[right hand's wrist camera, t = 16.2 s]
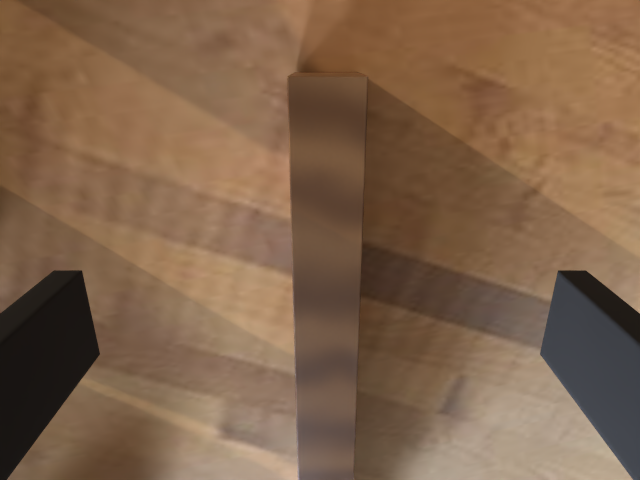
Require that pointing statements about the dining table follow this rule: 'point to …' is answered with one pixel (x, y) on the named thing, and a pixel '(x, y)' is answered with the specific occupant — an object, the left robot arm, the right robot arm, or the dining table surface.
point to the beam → (326, 263)
